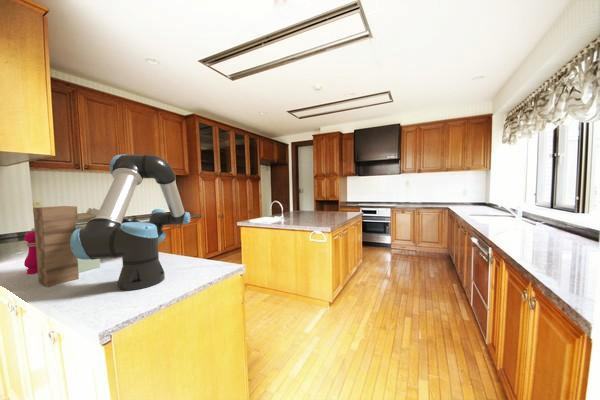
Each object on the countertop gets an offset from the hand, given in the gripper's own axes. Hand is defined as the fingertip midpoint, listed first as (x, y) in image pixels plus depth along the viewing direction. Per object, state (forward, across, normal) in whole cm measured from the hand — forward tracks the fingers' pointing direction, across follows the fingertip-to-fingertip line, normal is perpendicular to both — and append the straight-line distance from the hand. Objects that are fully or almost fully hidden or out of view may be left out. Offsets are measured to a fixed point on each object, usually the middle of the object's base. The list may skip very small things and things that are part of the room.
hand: (90, 210), depth 108 cm
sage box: (-9, 0, -26) cm, 27 cm away
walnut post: (-1, -8, -30) cm, 32 cm away
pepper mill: (-2, +17, -30) cm, 35 cm away
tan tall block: (-1, 0, -5) cm, 5 cm away
